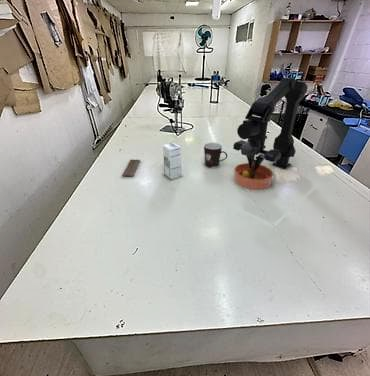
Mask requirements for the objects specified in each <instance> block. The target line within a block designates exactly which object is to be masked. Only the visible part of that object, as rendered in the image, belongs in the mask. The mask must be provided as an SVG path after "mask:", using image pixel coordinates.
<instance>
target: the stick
mask: <svg viewBox="0 0 370 376" xmlns="http://www.w3.org/2000/svg"><path fill="white" fill-rule="evenodd" d="M255 164H256V158H254V159H253V160H252V165H251V172H250V178H251V179H254V178H255V172H256V170H255Z"/></svg>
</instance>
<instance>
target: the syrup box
mask: <svg viewBox="0 0 370 376" xmlns="http://www.w3.org/2000/svg"><path fill="white" fill-rule="evenodd" d="M162 149H163V169H164V170H163V173H164V176H166V177H167V178H168V179H169V180H174V179H176V178H179V177H181V176H182V154H181V153H182V148H181V146H180V144H179V145H178V144H177V143H175V142H169V143H165V144H162Z"/></svg>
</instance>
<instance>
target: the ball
mask: <svg viewBox="0 0 370 376" xmlns="http://www.w3.org/2000/svg"><path fill="white" fill-rule="evenodd" d="M242 176H244V177H246V178H247V177H248V176H249V172H248V171H243V173H242Z"/></svg>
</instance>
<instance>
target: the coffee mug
mask: <svg viewBox="0 0 370 376" xmlns="http://www.w3.org/2000/svg"><path fill="white" fill-rule="evenodd" d="M222 149H223V145H222V144H220V143H218V142H207V143H204V144H203V151H204V166H205V167H207V168H210V169H211V168H214V167H218V166H219V163H221V162H224V161H225V160H226V159H227V158H228V153H227V152H226V151H224V150H222ZM222 153H224V155H225V157H224V158H223V159H221V154H222Z"/></svg>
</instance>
